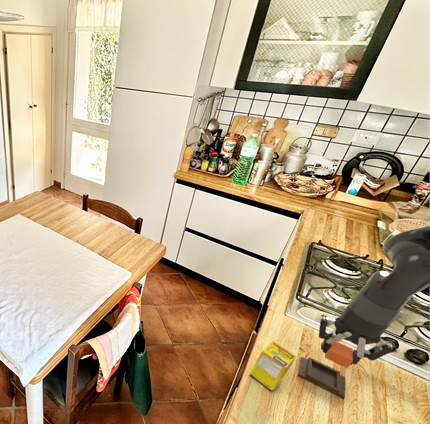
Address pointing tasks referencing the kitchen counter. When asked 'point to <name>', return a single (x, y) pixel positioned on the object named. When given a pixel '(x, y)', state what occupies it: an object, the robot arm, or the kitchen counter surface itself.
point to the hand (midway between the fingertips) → (336, 355)
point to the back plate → (322, 376)
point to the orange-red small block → (340, 354)
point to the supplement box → (272, 365)
